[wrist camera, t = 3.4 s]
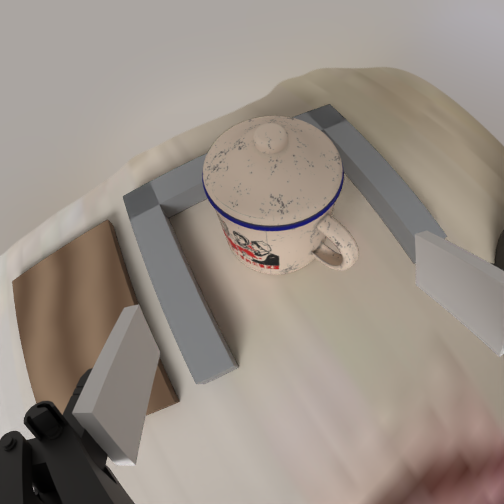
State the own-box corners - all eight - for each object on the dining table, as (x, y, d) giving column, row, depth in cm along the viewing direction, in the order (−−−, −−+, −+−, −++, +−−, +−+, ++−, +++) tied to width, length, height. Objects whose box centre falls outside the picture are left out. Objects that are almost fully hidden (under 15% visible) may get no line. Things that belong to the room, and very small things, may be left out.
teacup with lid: (203, 230, 28) (160, 140, 17) (275, 170, 30) (269, 71, 19) (302, 326, 23) (318, 278, 13) (374, 249, 25) (422, 163, 15)
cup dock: (327, 120, 32) (329, 104, 30) (435, 248, 25) (447, 236, 22) (133, 209, 29) (122, 196, 27) (204, 383, 22) (195, 383, 20)
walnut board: (113, 225, 29) (107, 219, 28) (179, 401, 22) (174, 402, 21) (18, 284, 27) (12, 281, 26) (59, 444, 20) (51, 446, 19)
